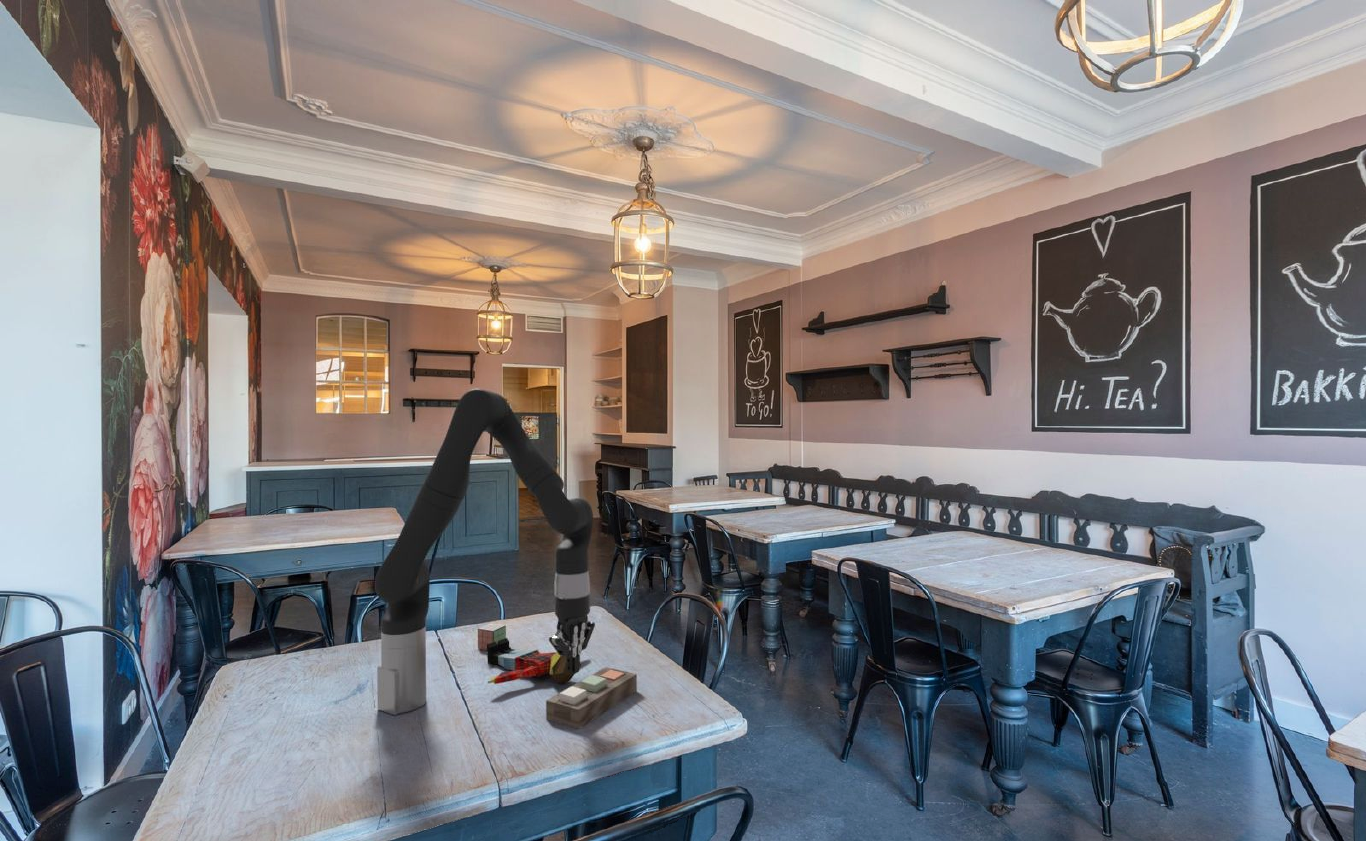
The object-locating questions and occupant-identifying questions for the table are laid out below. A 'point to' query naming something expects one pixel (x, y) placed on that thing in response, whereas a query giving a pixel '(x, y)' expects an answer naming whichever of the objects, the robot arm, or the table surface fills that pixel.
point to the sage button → (593, 683)
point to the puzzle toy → (490, 634)
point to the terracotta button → (612, 675)
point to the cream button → (573, 695)
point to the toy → (526, 663)
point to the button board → (591, 701)
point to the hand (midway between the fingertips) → (573, 672)
